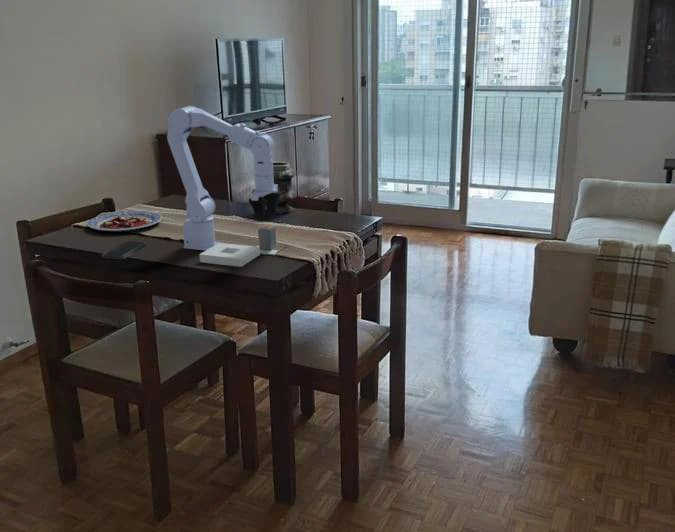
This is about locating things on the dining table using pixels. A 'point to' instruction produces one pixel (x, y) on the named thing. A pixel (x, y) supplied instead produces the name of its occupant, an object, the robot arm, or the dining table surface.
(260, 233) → the plug
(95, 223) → the ceramic plate
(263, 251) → the pad
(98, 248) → the dining table surface
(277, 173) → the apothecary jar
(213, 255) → the white board with hole
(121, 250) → the phone
